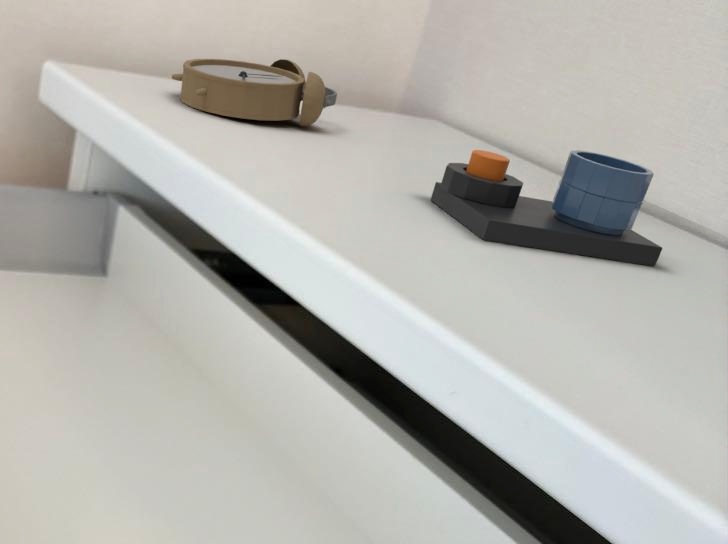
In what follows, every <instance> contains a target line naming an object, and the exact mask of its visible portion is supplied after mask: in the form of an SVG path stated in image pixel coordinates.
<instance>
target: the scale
mask: <svg viewBox="0 0 728 544" xmlns="http://www.w3.org/2000/svg"><path fill="white" fill-rule="evenodd" d="M468 164H469V163H464V162H448V164H447V165H446V166H445V170H444V173H443V176H442V179H441V182H439V181H436V182H435V183H434V187H433V191H432V193H431V197H430V201H431V202H433V203H434V204H435V205H436V206H438V207H439V208H440V209H441V210H443V211H444V212H446V213H447V214H448V215H449V216H451V217H452V218H454V219H455V220H456V221H458V222H459V223H460V224H462V225H463V226H465V227H466V228H467V229H468V230H470V232H472V233H474V234H475V235H476V236H478V237H479V238H481V239H482V240H483V241H489V242H495V243H502V244H508V245H513V246H514V245H515V246H519V247H520V246H521V247H527V248H534V249H539V250H540V249H541V250H546V251H553V252H560V253H566V254H573V255H579V256H586V257H592V258H598V259H599V258H600V259H605V260H610V261H616V262H617V261H618V262H625V263H631V264H637V265H644V266H649V267H656V265H657V263H658V260H659V258H660V256H661V253H662V251H663V247H662V246H660V244H657V243H655V242H653V241H652V240H650V239H649V238H647V237H645V236H643V235H641V234H639V233H638V232H636V231H634V230H633V229H629V230H624V233H623V234H622V235H608V234H601V233H597V232H592V231H589V230H585V229H582V228H578V227H576V226H573V225H570V224H568V223H565V222H563V221H561V220H559V219H558V218H556V217H555V215H554V213H555V210H553V209H552V202H553V200H552V201H551V200H546V199H541V198H540V199H539V198H535V197H529V196H523V195H521V191H522V189H523V186H524V182H523V181H522V180H520V179H518V178H516V177H515V176H513V175H509V174H507V173H506V174H505V177H504V180H503V181H498V180H492V179H487V178H483V177H479V176H476V175H474V174H471V173H468V172H466V170H467V167H468Z"/></svg>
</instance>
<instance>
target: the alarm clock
mask: <svg viewBox="0 0 728 544" xmlns="http://www.w3.org/2000/svg"><path fill="white" fill-rule="evenodd" d="M182 67H183V70H182V73H173V74H172V75H171V80H175V81H178V82H181V88H180V94H179V99H180V101H181V103H183V104H185V105H186V106H189V107H190V108H193V109H197V110H199V111H202V112H206V113H211V114H216V115H219V116H223V117H224V116H225V117H230V118H237V119H245V120H252V121H253V120H254V121H271V122H272V121H274V122H275V121H277V122H279V121H287V120H294V119H296V118H299V127H308V126H312V125H313V124H314V123H316V122H317V121H318V120H319V118H320V117H321V114H322V112H323V110H324V109H325V108H329V107H333V106H334V105H336V104H337V103H336V102H337V97H338V92H337V91H336V90H335V89H333V88H330V87H327V86H325V83H324V80H323V79H322V78H321V76H320V75H319V74H317V73H315V72H312V71H308V73H307V77H305V74H304V71H303V70H302V68H301V67H300V66H299V65H298V64H297V63H296V62H294V61H292V60H290V59H281V58H280V59H277V60H275V61H273V63H271V65H265V64H261V63H256V62H249V61H248V62H247V61H244V60H243V61H241V60H232V59H225V58H224V59H221V58H193V59H188V60H186V61H184V62H183V64H182ZM301 102H302V103H301ZM300 106H301V109H300ZM299 115H300V116H299Z"/></svg>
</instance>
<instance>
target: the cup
mask: <svg viewBox="0 0 728 544" xmlns="http://www.w3.org/2000/svg"><path fill="white" fill-rule="evenodd" d="M654 175H655V174H654V172H653V171H652V170H651V169H650V168H646V167H645V166H642V165H641V164H638V163H634V162H631V161H629V160H626V159H622V158H618V157H616V156H615V157H614V156H611V155H607V154H602V153H599V152H594V151H586V150H579V149H577V150H570V152H569V155H568V158H567V160H566V162H565V165H564V169H563V171H562V174H561V175H560V180H559V183H558V185H557V188H556V190H555V194H554V196H553V199H552V201H553V202H552V209H553V210H555V213H554V215H555V217H556V218H558V219H559V220H561V221H563V222H565V223H568V224H570V225H573V226H576V227H578V228H582V229H585V230H589V231H592V232H597V233H601V234H608V235H622V234H623V233H624V230H629V229H631V230H633V227H634V225H635V222H636V220H637V217H638V215H639V212H640V210H641V207H642V205H643V202H644V200H645V197H646V195H647V192H648V190H649V187H650V185H651V182H652V180H653V178H654Z"/></svg>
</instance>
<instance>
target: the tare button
mask: <svg viewBox="0 0 728 544" xmlns="http://www.w3.org/2000/svg"><path fill="white" fill-rule="evenodd" d="M510 162H511V160H510V158H509V157H507V156H504V155H502V154H499V153H495V152H492V151H489V150H488V151H487V150H482V149H473V150H472V152H471V155H470V158H469V161H468V163H467V164H468V167H467V170H466V172H468V173H471V174H474V175H476V176H479V177H483V178H487V179H492V180H498V181H503V180H504V177H505V174H507V170H508V168H509V166H510Z"/></svg>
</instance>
